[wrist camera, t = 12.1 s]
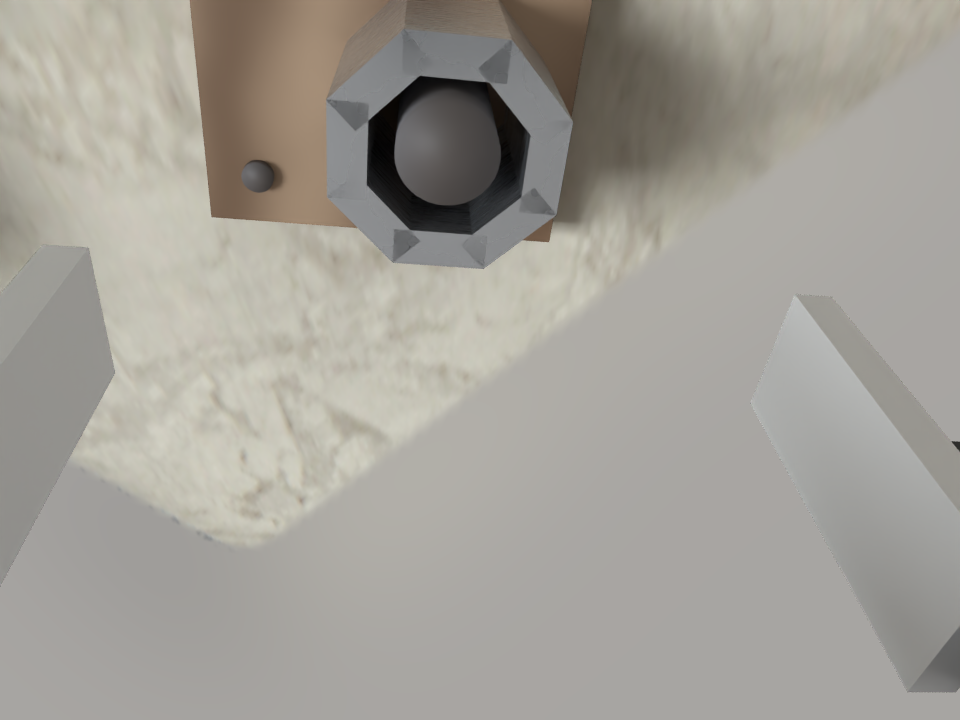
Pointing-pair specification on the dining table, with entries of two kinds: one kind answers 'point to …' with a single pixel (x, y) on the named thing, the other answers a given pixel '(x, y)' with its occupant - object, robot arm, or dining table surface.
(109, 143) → the dining table surface
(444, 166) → the shaft block
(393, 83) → the hub
